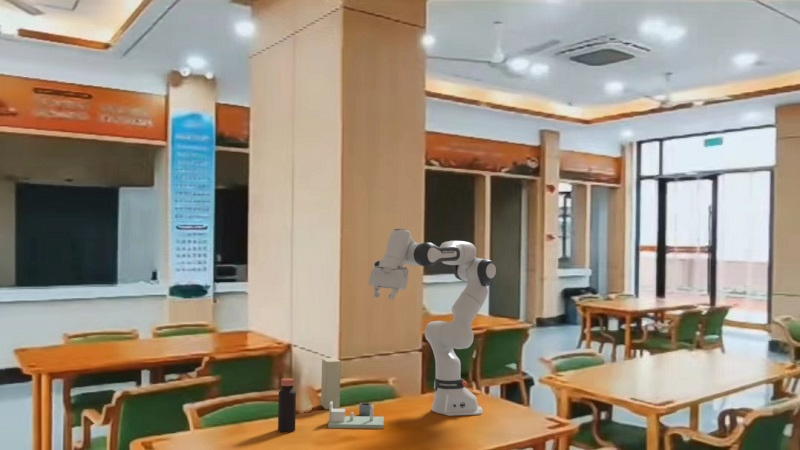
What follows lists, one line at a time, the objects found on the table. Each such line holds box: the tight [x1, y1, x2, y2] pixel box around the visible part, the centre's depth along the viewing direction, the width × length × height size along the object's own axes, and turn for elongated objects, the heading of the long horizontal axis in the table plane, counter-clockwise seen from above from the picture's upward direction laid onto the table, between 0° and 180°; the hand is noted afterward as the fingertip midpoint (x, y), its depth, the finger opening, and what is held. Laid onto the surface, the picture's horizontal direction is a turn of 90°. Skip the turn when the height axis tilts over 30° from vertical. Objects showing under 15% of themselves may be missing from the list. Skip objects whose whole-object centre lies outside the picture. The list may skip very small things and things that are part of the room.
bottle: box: [277, 377, 297, 433], centre depth 261 cm, size 7×7×20 cm
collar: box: [358, 402, 372, 416], centre depth 283 cm, size 5×5×5 cm
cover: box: [328, 401, 346, 422], centre depth 271 cm, size 6×5×7 cm
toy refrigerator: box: [320, 357, 342, 410], centre depth 298 cm, size 8×7×21 cm
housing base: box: [327, 405, 385, 430], centre depth 271 cm, size 22×12×8 cm, turn 91°
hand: (383, 298), depth 271 cm, fingers open, 8 cm apart
